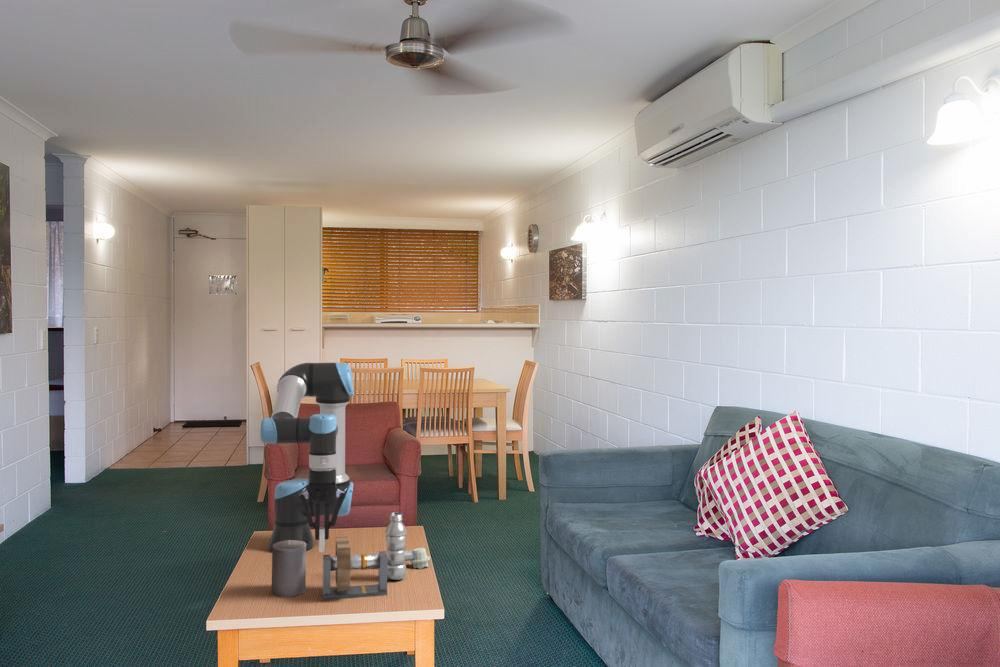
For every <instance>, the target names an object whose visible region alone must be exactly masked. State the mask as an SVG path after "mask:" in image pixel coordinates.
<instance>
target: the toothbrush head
mask: <svg viewBox="0 0 1000 667" xmlns="http://www.w3.org/2000/svg"><path fill="white" fill-rule="evenodd" d="M377 554H379V552H378V553H377ZM386 554H387V552H386ZM404 554H405V562H410V563H411V565H412V566H411V567H412V568H413V569H419V570H420V569H421V570H422V569H424V568H428V567H430V561H431V556H429V555H427V550H426V548H425V547H418V548H414V549H412V550H405V552H404Z"/></svg>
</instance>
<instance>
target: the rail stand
mask: <svg viewBox="0 0 1000 667" xmlns="http://www.w3.org/2000/svg"><path fill="white" fill-rule="evenodd" d="M378 553H379V554H378ZM378 553H368V554H367V553H360V554H352V555H351V554H350V571H351V570H362V571H363V570H368V569H378V573H377V574H378V577H377V578H378V579H377V580H378V582H377V584H359V585H350V590H347V591H337V586H336V587H331V586H332V585H331V578H332V576H331V574H332V573H331V572H335V571H337V556H336V555H334V556H331V554H322V599H323V601H325V600H326V601H327V600H339V599H352V598H354V599H355V598H364V597H366V598H367V597H378V596H388V579H387V554H386V553H387V550H383V551H382V550H381V551H380V550H379V551H378Z"/></svg>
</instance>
